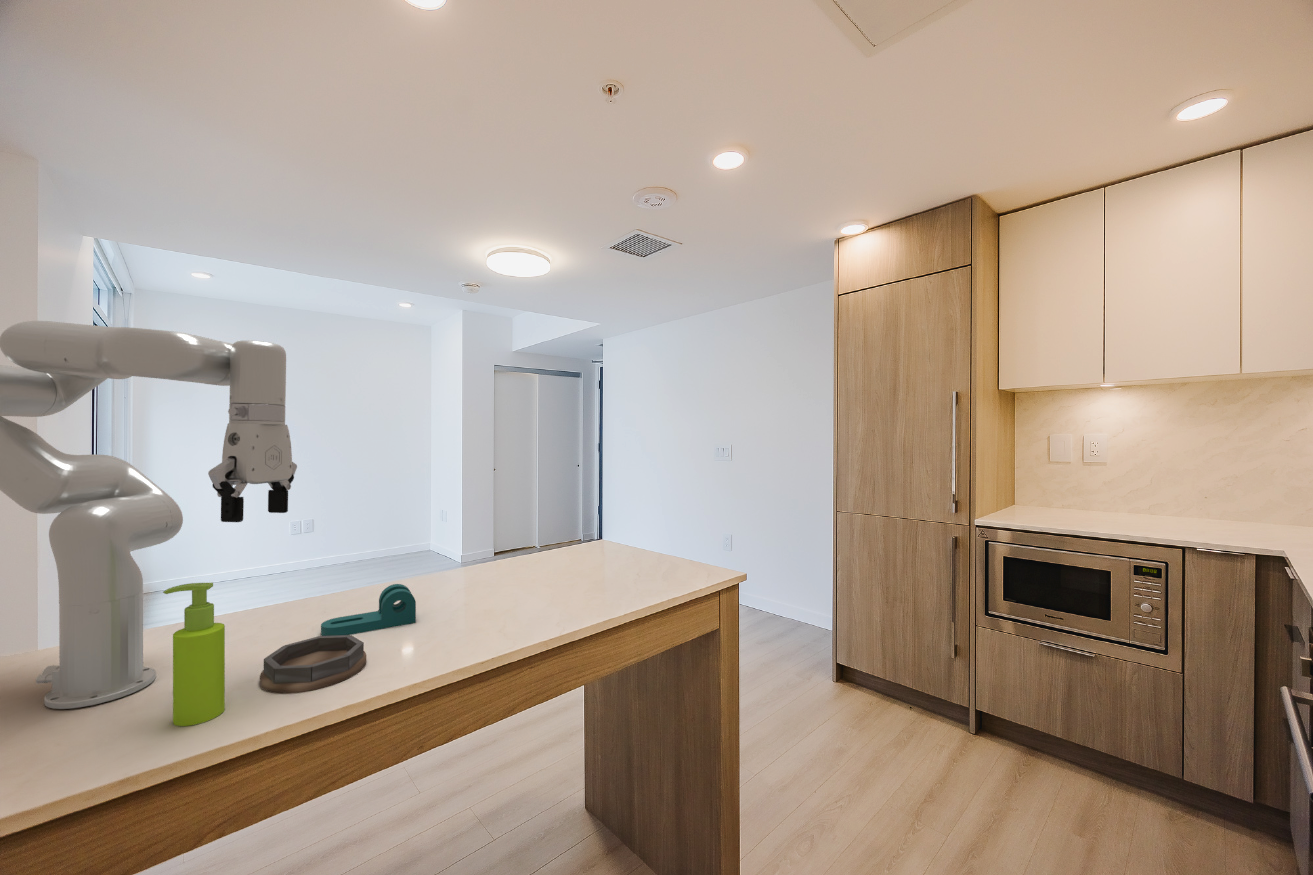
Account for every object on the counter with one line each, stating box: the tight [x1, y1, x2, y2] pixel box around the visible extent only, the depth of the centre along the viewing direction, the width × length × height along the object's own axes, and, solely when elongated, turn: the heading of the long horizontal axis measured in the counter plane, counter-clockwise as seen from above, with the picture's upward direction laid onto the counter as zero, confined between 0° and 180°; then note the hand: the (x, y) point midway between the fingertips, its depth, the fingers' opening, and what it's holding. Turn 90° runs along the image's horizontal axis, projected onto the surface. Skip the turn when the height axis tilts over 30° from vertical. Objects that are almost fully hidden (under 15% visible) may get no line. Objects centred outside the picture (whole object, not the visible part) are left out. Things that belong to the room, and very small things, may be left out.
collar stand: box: [259, 634, 367, 694], centre depth 94 cm, size 16×16×4 cm
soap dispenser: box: [162, 582, 226, 727], centre depth 79 cm, size 6×7×20 cm
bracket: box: [320, 583, 417, 636], centre depth 115 cm, size 18×7×8 cm, turn 124°
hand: (256, 516), depth 88 cm, fingers open, 9 cm apart
